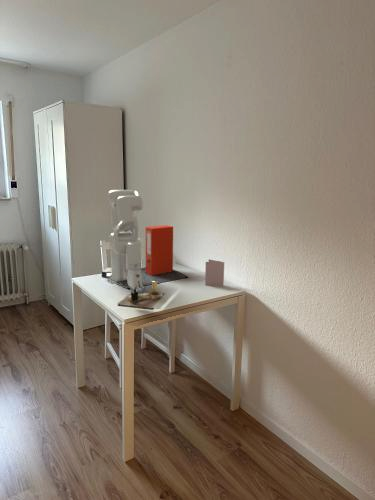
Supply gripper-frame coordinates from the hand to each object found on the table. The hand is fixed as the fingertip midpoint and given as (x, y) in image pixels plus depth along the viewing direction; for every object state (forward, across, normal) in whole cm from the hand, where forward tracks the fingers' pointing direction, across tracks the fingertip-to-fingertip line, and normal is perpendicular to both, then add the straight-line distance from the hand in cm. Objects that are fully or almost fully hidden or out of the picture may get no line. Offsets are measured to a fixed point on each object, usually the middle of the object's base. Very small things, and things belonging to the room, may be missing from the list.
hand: (134, 300), depth 186 cm
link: (+1, +3, -7) cm, 8 cm away
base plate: (+3, +4, -6) cm, 8 cm away
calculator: (+3, +58, -8) cm, 59 cm away
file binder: (+2, +51, -38) cm, 64 cm away
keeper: (+1, +9, -7) cm, 11 cm away
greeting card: (+3, +10, -56) cm, 57 cm away
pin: (+1, +3, -13) cm, 13 cm away
